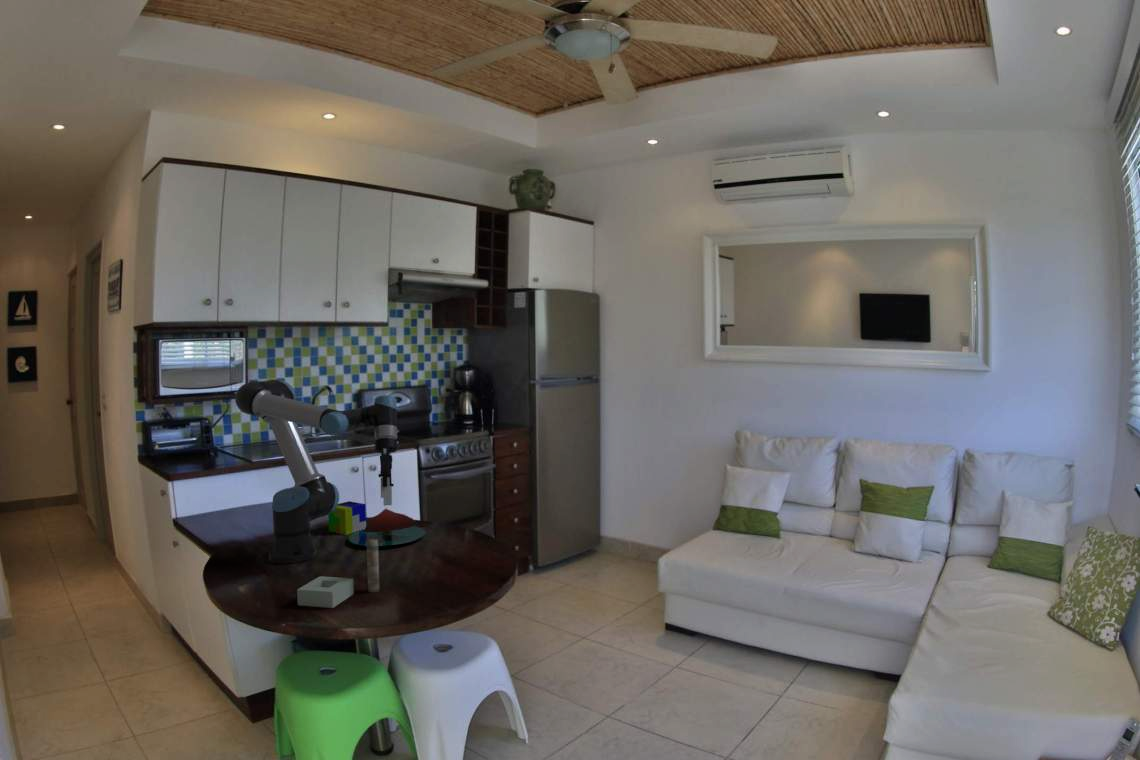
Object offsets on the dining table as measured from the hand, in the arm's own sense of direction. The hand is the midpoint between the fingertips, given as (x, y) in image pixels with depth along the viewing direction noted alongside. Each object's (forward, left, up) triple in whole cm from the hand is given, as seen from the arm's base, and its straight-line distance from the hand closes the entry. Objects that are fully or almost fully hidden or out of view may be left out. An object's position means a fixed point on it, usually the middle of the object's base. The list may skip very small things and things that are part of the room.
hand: (386, 501), depth 225 cm
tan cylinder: (+8, -24, -21) cm, 33 cm away
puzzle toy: (-36, +35, -21) cm, 54 cm away
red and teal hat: (-14, +26, -21) cm, 36 cm away
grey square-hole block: (-2, -33, -21) cm, 39 cm away
